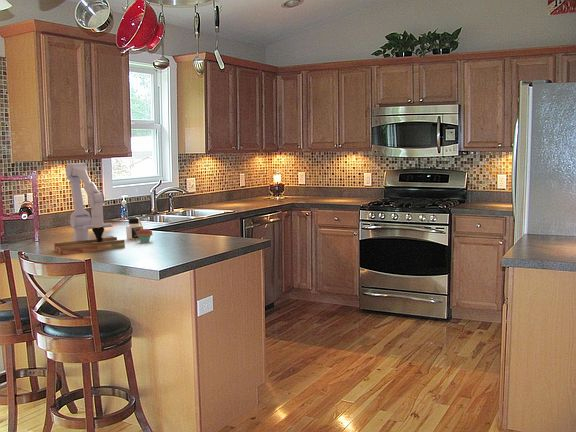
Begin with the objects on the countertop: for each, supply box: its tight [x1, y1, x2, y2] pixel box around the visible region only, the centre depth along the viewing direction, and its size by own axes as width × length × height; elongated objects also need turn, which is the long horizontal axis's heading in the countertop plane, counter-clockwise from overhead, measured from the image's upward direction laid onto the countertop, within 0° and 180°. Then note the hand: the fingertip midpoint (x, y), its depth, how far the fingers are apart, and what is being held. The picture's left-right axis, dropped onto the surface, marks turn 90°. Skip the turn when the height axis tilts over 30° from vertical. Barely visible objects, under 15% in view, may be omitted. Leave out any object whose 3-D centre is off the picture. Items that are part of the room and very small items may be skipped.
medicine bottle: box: [125, 216, 144, 241], centre depth 360 cm, size 7×7×12 cm
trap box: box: [53, 236, 126, 256], centre depth 327 cm, size 14×32×4 cm, turn 122°
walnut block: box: [101, 235, 116, 242], centre depth 331 cm, size 6×6×3 cm
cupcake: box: [136, 221, 153, 243], centre depth 347 cm, size 9×8×12 cm
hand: (99, 242), depth 329 cm, fingers closed
